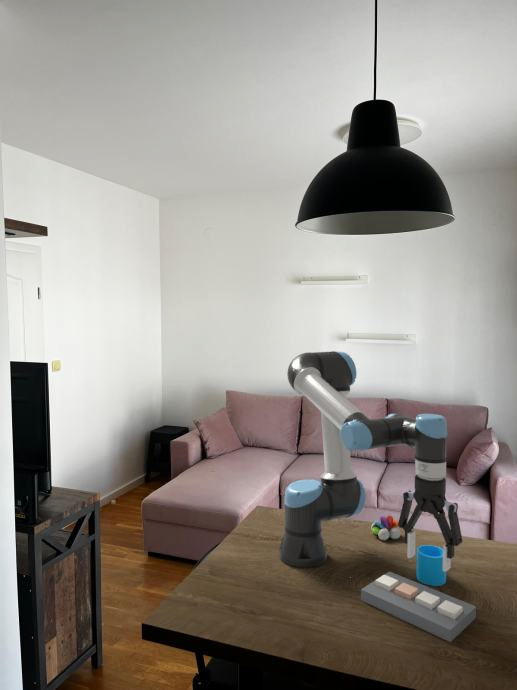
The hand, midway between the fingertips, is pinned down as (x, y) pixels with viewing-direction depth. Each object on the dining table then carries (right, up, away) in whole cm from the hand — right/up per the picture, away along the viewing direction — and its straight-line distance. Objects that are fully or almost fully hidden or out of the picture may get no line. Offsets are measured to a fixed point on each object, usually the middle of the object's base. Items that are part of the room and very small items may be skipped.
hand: (428, 562), depth 133 cm
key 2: (-4, -12, +5) cm, 14 cm away
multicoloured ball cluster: (+1, -11, +48) cm, 49 cm away
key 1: (-8, -12, +9) cm, 17 cm away
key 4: (+4, -12, -4) cm, 14 cm away
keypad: (-2, -13, +3) cm, 14 cm away
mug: (+7, -12, +20) cm, 25 cm away
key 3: (0, -12, +1) cm, 12 cm away
